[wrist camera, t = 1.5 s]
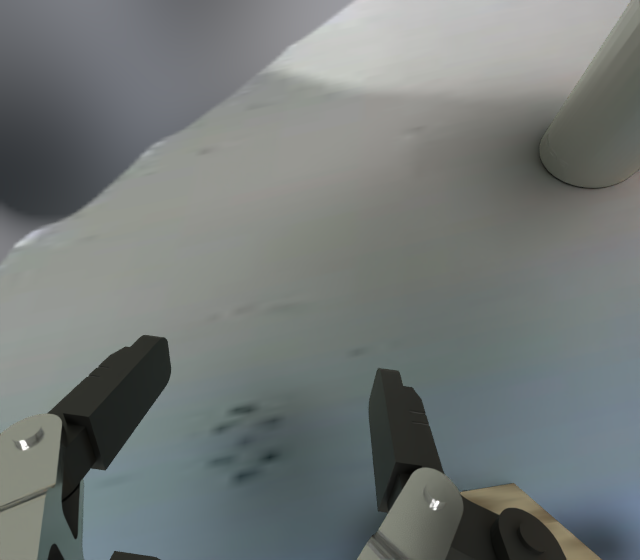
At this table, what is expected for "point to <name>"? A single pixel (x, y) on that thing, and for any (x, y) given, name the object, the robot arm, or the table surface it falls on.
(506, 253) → the table surface
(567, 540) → the key box
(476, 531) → the robot arm
